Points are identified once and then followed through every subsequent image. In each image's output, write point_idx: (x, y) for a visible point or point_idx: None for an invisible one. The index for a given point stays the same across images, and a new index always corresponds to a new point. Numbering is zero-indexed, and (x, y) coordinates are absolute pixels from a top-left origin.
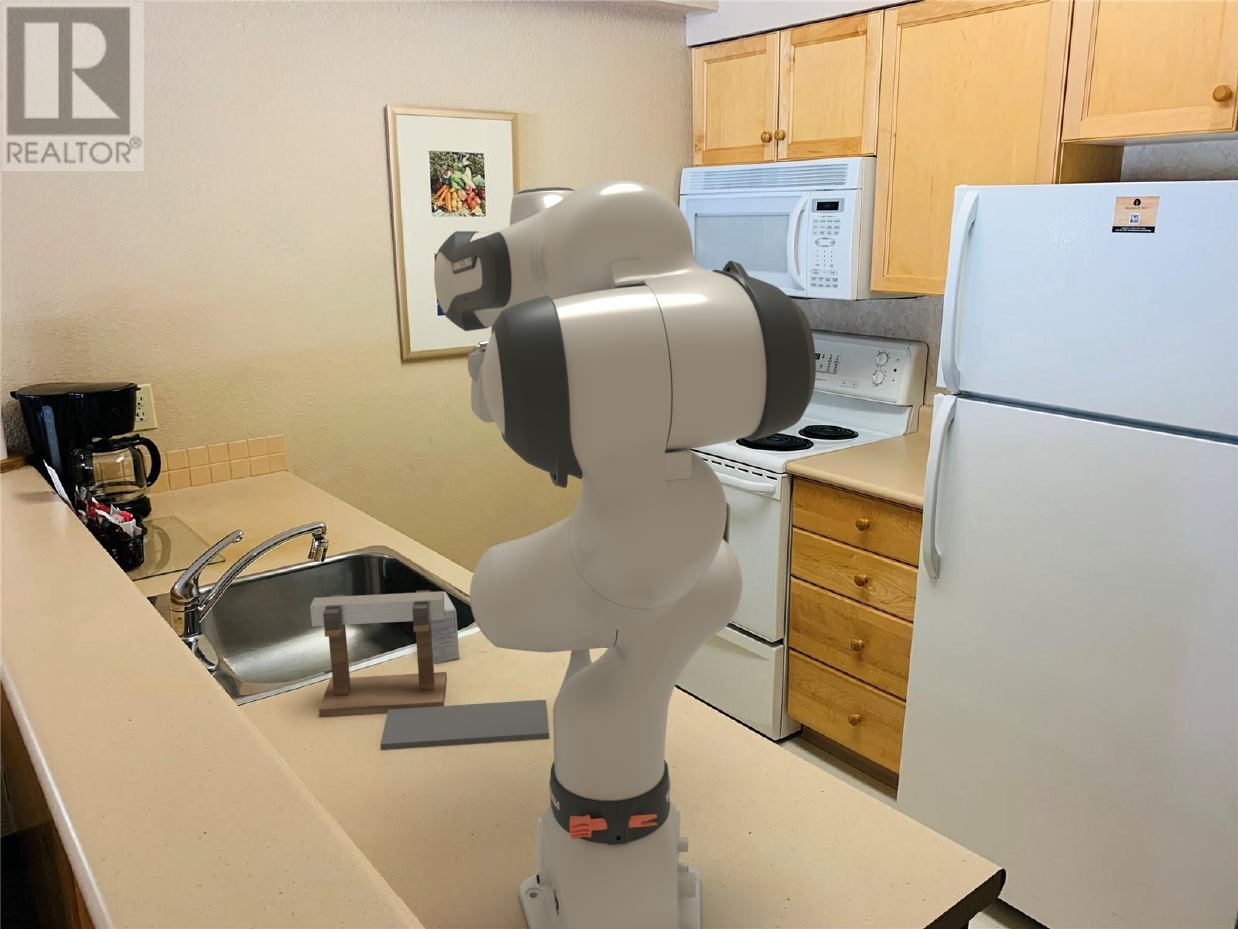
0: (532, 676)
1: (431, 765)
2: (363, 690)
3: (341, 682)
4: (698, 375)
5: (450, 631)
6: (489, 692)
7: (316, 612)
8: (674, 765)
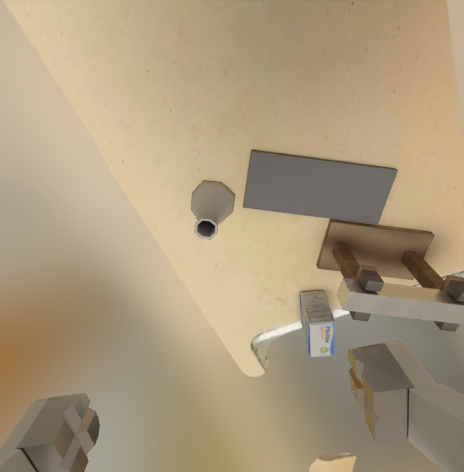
0: (245, 252)
1: (360, 132)
2: (391, 256)
3: (416, 258)
4: None
5: (311, 308)
6: (286, 236)
7: None
8: (147, 73)
